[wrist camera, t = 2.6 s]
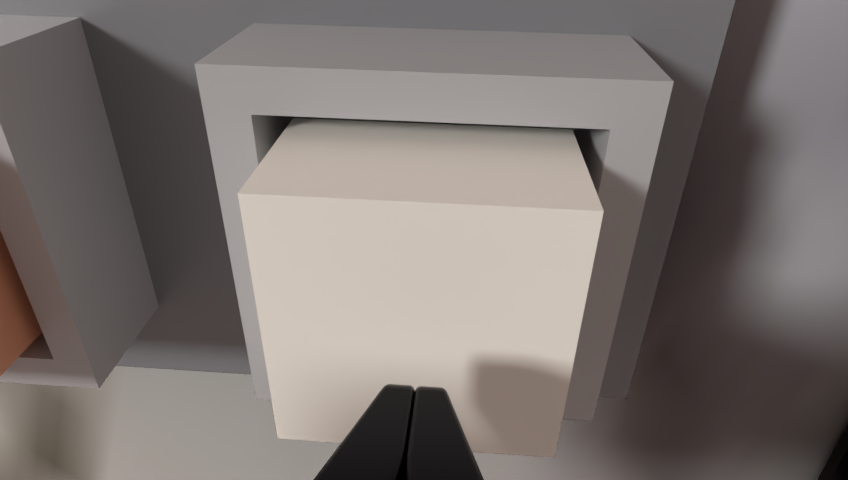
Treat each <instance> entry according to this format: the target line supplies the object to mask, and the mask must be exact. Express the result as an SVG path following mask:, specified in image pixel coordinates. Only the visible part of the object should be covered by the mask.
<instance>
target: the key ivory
mask: <svg viewBox="0 0 848 480" xmlns="http://www.w3.org/2000/svg"><path fill="white" fill-rule="evenodd" d="M238 199H239V205H240V211H241V217H242V223H243V230H244V236H245V242H246V248H247V254H248V260H249V266H250V272H251V278H252V284H253V290H254V296H255V302H256V308H257V314H258V321H259V327H260V333H261V339H262V345H263V351H264V357H265V363H266V369H267V375H268V381H269V387H270V393H271V399H272V406H273V412H274V418H275V424H276V430H277V436H278V438H281V439H295V440H309V441H324V442H338V443H342V441H343V440H344V439H345V437H346V436H347V435H348V433H349V432H350V431H351V429H352V428H353V427H354V425H355V424H356V423H357V421H358V420H359V419H360V417H361V416H362V415H363V413H364V412H365V411H366V409H367V408H368V407H369V405H370V404H371V403H372V401H373V400H374V399H375V397H376V396H377V395H378V393H379V392H380V391H381V389H382V388H383V387H384V386H385V385H387V384H397V385H410V386H412V387H414V389H415V390H416V388H417V387H419V386H428V387H441V388H444V389H445V390H446V391H447V393H448V395H449V398H450V400H451V403H452V405H453V407H454V410H455V412H456V415H457V417H458V419H459V422H460V424H461V427H462V429H463V431H464V434H465V436H466V439H467V441H468V443H469V446H470V448H471V451H472V452H481V453H495V454H509V455H524V456H538V457H552V458H555V454H556V449H557V444H558V439H559V434H560V429H561V424H562V419H563V414H564V409H565V404H566V399H567V394H568V389H569V384H570V378H571V373H572V368H573V363H574V358H575V353H576V348H577V343H578V338H579V333H580V328H581V323H582V318H583V313H584V308H585V303H586V298H587V293H588V288H589V283H590V278H591V273H592V268H593V263H594V258H595V253H596V248H597V243H598V238H599V233H600V228H601V223H602V218H603V213H604V210H603V208H602V205H601V203H600V200H599V197H598V195H597V192H596V189H595V187H594V184H593V182H592V179H591V176H590V174H589V171H588V169H587V166H586V163H585V161H584V158H583V156H582V153H581V150H580V148H579V145H578V143H577V140H576V137H575V135H574V132H573V130H572V129H549V128H525V127H501V126H477V125H453V124H429V123H405V122H381V121H357V120H332V119H308V118H293V119H292V120H291V122H290V123H289V124H288V126H287V127H286V129H285V130H284V131H283V133H282V134H281V135H280V137H279V138H278V139H277V141H276V142H275V143H274V145H273V146H272V147H271V149H270V150H269V152H268V153H267V154H266V156H265V157H264V158H263V160H262V161H261V162H260V164H259V165H258V166H257V168H256V169H255V170H254V172H253V173H252V174H251V176H250V177H249V179H248V180H247V181H246V183H245V184H244V185H243V187H242V188H241V189H240V191H239V192H238Z"/></svg>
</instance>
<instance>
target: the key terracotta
mask: <svg viewBox="0 0 848 480" xmlns="http://www.w3.org/2000/svg"><path fill="white" fill-rule="evenodd" d="M41 333H42V330H41V327H40V325H39V323H38V320H37V318H36V315H35V313H34V310H33V308H32V306H31V303H30V301H29V298H28V296H27V294H26V291H25V289H24V286H23V284H22V281H21V279H20V277H19V274H18V272H17V269H16V267H15V264H14V262H13V260H12V257H11V255H10V252H9V250H8V248H7V245H6V243H5V240H4V238H3V235H2V233H1V231H0V376H1V375H2V374H3V373H4V372H5V371H6V370H7V369H8V368H9V367H10V366H11V364H12V363H13V362H14V361H15V360H16V359H17V358H18V357H19V356H20V355H21V354H22V353H23V352H24V351H25V350H26V349H27V347H28V346H29V345H30V344H31V343H32V342H33V341H34V340H35V339H36V338H37V337H38V336H39V335H40V334H41Z"/></svg>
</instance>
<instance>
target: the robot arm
mask: <svg viewBox="0 0 848 480" xmlns="http://www.w3.org/2000/svg"><path fill="white" fill-rule="evenodd" d="M314 480H484V479H483V477H482V475H481V472H480V470H479V467H478V465H477V463H476V460H475V458H474V455H473V453H472V451H471V448H470V446H469V443H468V441H467V439H466V436H465V434H464V431H463V429H462V427H461V424H460V422H459V419H458V417H457V415H456V412H455V410H454V407H453V405H452V403H451V400H450V398H449V395H448V393H447V391H446V390H445V389H444V388H441V387H428V386H419V387H417V388H416V390H415V389H414V387H412V386H410V385H397V384H387V385H385V386H384V387H383V388H382V389H381V391H380V392H379V393H378V395H377V396H376V397H375V399H374V400H373V401H372V403H371V404H370V405H369V407H368V408H367V409H366V411H365V412H364V413H363V415H362V416H361V417H360V419H359V420H358V421H357V423H356V424H355V425H354V427H353V428H352V429H351V431H350V432H349V433H348V435H347V436H346V437H345V439H344V440H343V441H342V443H341V444H340V445H339V447H338V448H337V449H336V451H335V452H334V453H333V455H332V456H331V457H330V459H329V460H328V461H327V463H326V464H325V465H324V467H323V468H322V469H321V471H320V472H319V473H318V475H317V476H316V477H315V479H314ZM818 480H848V427H847V428H846V430H845V432H844V434H843V435H842V437H841V439H840V441H839V443H838V444H837V446H836V448H835V450H834V451H833V453H832V455H831V457H830V459H829V460H828V462H827V464H826V466H825V467H824V469H823V471H822V473H821V474H820V476H819V478H818Z"/></svg>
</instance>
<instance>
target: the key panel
mask: <svg viewBox="0 0 848 480" xmlns="http://www.w3.org/2000/svg"><path fill="white" fill-rule="evenodd" d="M734 4H735V0H0V231H1V233H2V235H3V238H4V240H5V243H6V245H7V248H8V250H9V252H10V255H11V257H12V260H13V262H14V264H15V267H16V269H17V272H18V274H19V277H20V279H21V281H22V284H23V286H24V289H25V291H26V294H27V296H28V298H29V301H30V303H31V306H32V308H33V310H34V313H35V315H36V318H37V320H38V323H39V325H40V327H41V330H42V333H41V334H40V335H39V336H38V337H37V338H36V339H35V340H34V341H33V342H32V343H31V344H30V345H29V346H28V347H27V349H26V350H25V351H24V352H23V353H22V354H21V355H20V356H19V357H18V358H17V359H16V360H15V361H14V362H13V363H12V364H11V366H10V367H9V368H8V369H7V370H6V371H5V372H4V373H3V374H2V375H1V376H0V382H12V383H27V384H42V385H57V386H72V387H87V388H100V386H101V385H102V383H103V382H104V381H105V379H106V378H107V377H108V375H109V374H110V373H111V371H112V370H113V368H114V367H115V366H128V367H144V368H159V369H175V370H190V371H206V372H221V373H237V374H251V375H252V380H253V386H254V391H255V396H256V399H267V400H272V399H271V393H270V387H269V381H268V375H267V369H266V363H265V357H264V351H263V345H262V339H261V333H260V327H259V321H258V314H257V308H256V302H255V296H254V290H253V284H252V278H251V272H250V266H249V260H248V254H247V248H246V242H245V236H244V230H243V223H242V217H241V211H240V205H239V199H238V192H239V191H240V189H241V188H242V187H243V185H244V184H245V183H246V181H247V180H248V179H249V177H250V176H251V174H252V173H253V172H254V170H255V169H256V168H257V166H258V165H259V164H260V162H261V161H262V160H263V158H264V157H265V156H266V154H267V153H268V152H269V150H270V149H271V147H272V146H273V145H274V143H275V142H276V141H277V139H278V138H279V137H280V135H281V134H282V133H283V131H284V130H285V129H286V127H287V126H288V124H289V123H290V122H291V120H292V119H293V118H308V119H332V120H357V121H381V122H405V123H429V124H453V125H477V126H501V127H525V128H549V129H572V130H573V132H574V135H575V137H576V140H577V143H578V145H579V148H580V150H581V153H582V156H583V158H584V161H585V163H586V166H587V169H588V171H589V174H590V176H591V179H592V182H593V184H594V187H595V189H596V192H597V195H598V197H599V200H600V203H601V205H602V208H603V210H604V213H603V218H602V223H601V228H600V233H599V238H598V243H597V248H596V253H595V258H594V263H593V268H592V273H591V278H590V283H589V288H588V293H587V298H586V303H585V308H584V313H583V318H582V323H581V328H580V333H579V338H578V343H577V348H576V353H575V358H574V363H573V368H572V373H571V378H570V384H569V389H568V394H567V399H566V404H565V409H564V414H563V419H567V420H582V421H593V419H594V415H595V410H596V406H597V402H598V398H599V397H608V398H624V399H627V396H628V392H629V388H630V385H631V381H632V377H633V374H634V370H635V366H636V363H637V359H638V355H639V352H640V348H641V344H642V341H643V337H644V333H645V330H646V326H647V322H648V319H649V315H650V311H651V308H652V304H653V300H654V297H655V293H656V290H657V286H658V282H659V279H660V275H661V271H662V268H663V264H664V260H665V257H666V253H667V249H668V246H669V242H670V238H671V235H672V231H673V227H674V224H675V220H676V216H677V213H678V209H679V205H680V202H681V198H682V194H683V191H684V187H685V183H686V180H687V176H688V172H689V169H690V165H691V161H692V158H693V154H694V150H695V147H696V143H697V139H698V136H699V132H700V128H701V125H702V121H703V117H704V114H705V110H706V106H707V103H708V99H709V95H710V92H711V88H712V84H713V81H714V77H715V74H716V70H717V66H718V63H719V59H720V55H721V52H722V48H723V44H724V41H725V37H726V33H727V30H728V26H729V22H730V19H731V15H732V11H733V8H734Z"/></svg>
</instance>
